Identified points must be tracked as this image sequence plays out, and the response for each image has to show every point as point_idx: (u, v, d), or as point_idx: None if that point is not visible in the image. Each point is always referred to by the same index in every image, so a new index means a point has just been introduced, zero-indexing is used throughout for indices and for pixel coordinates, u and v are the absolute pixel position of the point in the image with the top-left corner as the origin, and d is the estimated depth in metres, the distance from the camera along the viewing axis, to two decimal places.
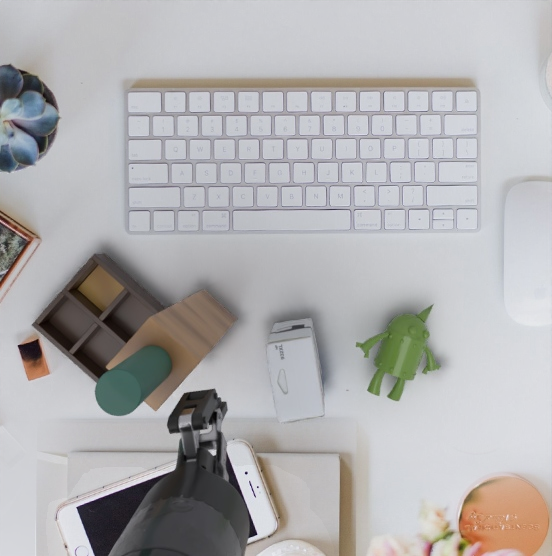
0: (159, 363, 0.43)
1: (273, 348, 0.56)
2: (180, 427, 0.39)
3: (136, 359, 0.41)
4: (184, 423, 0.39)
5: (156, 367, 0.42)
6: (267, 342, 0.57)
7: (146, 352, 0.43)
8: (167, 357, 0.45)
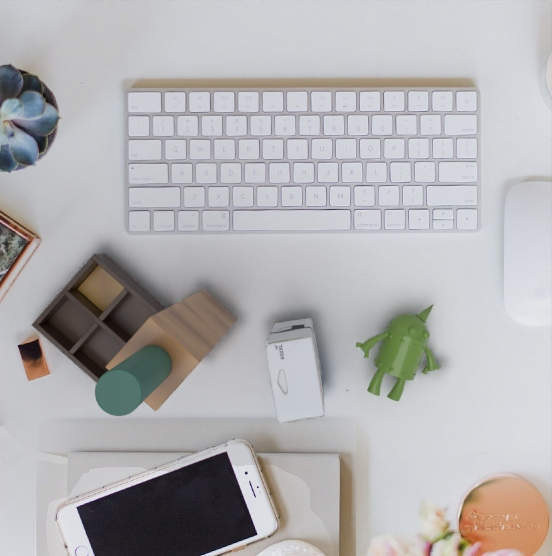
0: (159, 363, 0.43)
1: (273, 348, 0.56)
2: None
3: (136, 359, 0.41)
4: None
5: (156, 367, 0.42)
6: (267, 342, 0.57)
7: (146, 352, 0.43)
8: (167, 357, 0.45)
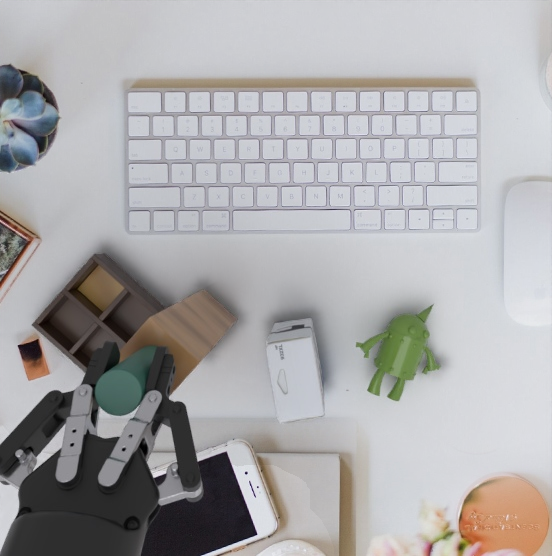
0: None
1: (273, 348, 0.56)
2: (192, 492, 0.35)
3: (136, 359, 0.41)
4: (196, 493, 0.35)
5: None
6: (267, 342, 0.57)
7: (146, 352, 0.43)
8: None
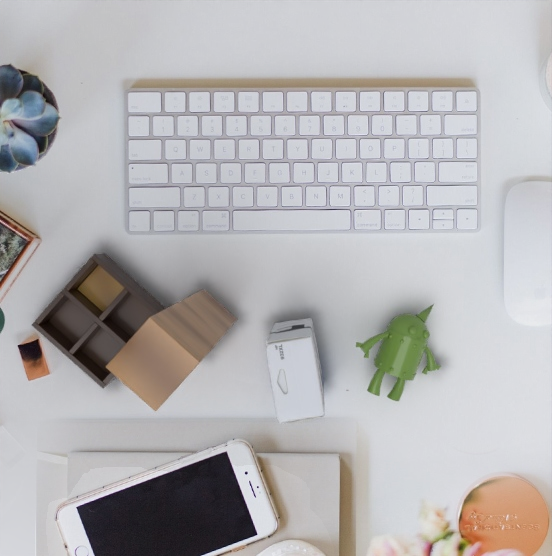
0: None
1: (273, 348, 0.56)
2: None
3: None
4: None
5: None
6: (267, 342, 0.57)
7: None
8: None
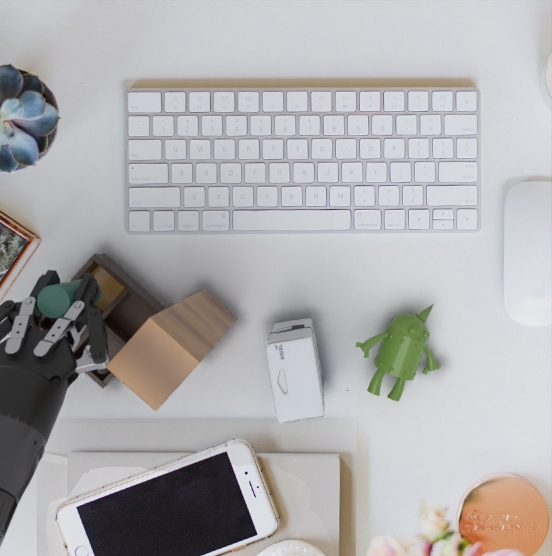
0: None
1: (273, 348, 0.56)
2: (100, 364, 0.51)
3: (69, 282, 0.57)
4: (103, 365, 0.51)
5: None
6: (267, 342, 0.57)
7: (79, 280, 0.60)
8: None
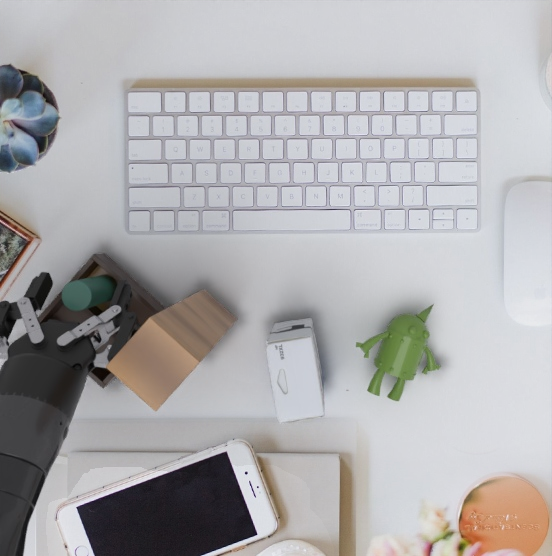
0: (106, 283, 0.64)
1: (273, 348, 0.56)
2: None
3: (90, 278, 0.62)
4: None
5: (104, 285, 0.63)
6: (267, 342, 0.57)
7: (98, 276, 0.65)
8: (114, 282, 0.67)
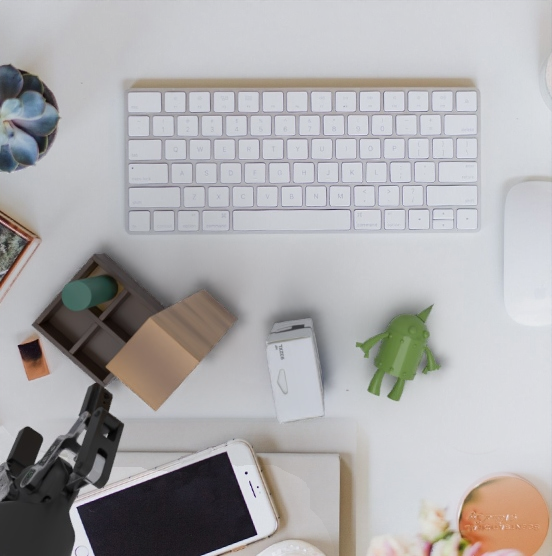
0: (106, 283, 0.64)
1: (273, 348, 0.56)
2: (85, 478, 0.41)
3: (90, 278, 0.62)
4: (90, 478, 0.41)
5: (104, 285, 0.63)
6: (267, 342, 0.57)
7: (98, 276, 0.65)
8: (114, 282, 0.67)
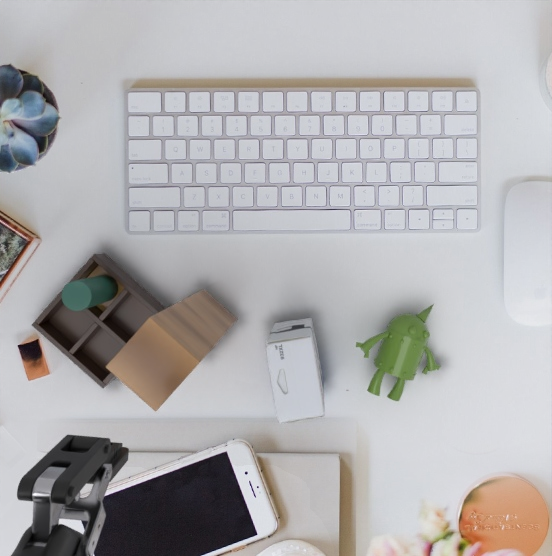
0: (106, 283, 0.64)
1: (273, 348, 0.56)
2: (34, 496, 0.28)
3: (90, 278, 0.62)
4: (41, 491, 0.28)
5: (104, 285, 0.63)
6: (267, 342, 0.57)
7: (98, 276, 0.65)
8: (114, 282, 0.67)
